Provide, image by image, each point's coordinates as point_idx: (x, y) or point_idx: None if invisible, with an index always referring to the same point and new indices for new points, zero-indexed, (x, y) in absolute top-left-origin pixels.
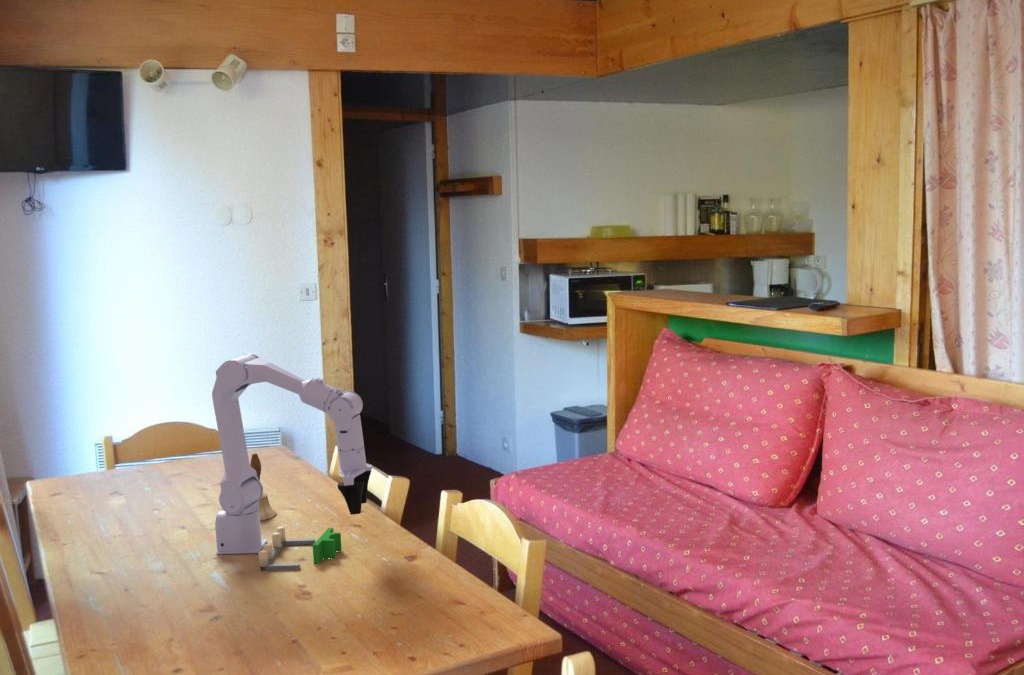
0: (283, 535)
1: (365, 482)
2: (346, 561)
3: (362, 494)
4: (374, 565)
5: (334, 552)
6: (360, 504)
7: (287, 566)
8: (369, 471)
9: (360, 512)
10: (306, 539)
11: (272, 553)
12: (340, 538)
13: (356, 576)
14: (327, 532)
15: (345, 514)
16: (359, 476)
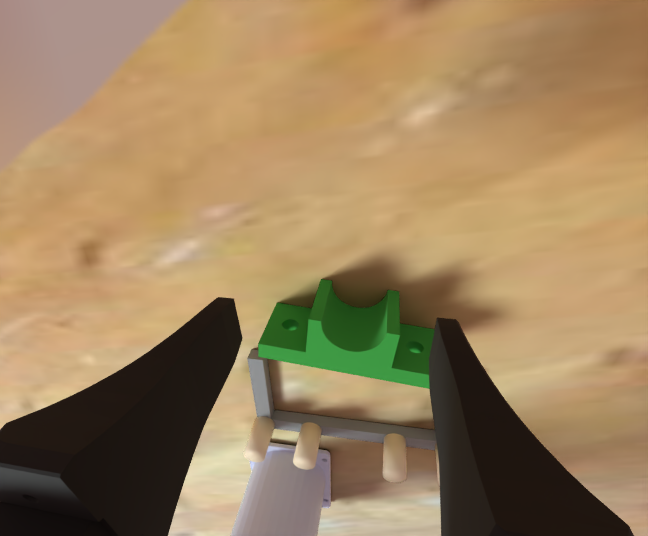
0: (266, 433)
1: (155, 402)
2: (425, 255)
3: (211, 351)
4: (498, 147)
5: (397, 305)
6: (478, 361)
7: None
8: (63, 477)
9: (444, 320)
10: (255, 376)
11: (396, 445)
12: (317, 306)
13: (604, 204)
14: (307, 357)
15: (12, 295)
16: (133, 486)
